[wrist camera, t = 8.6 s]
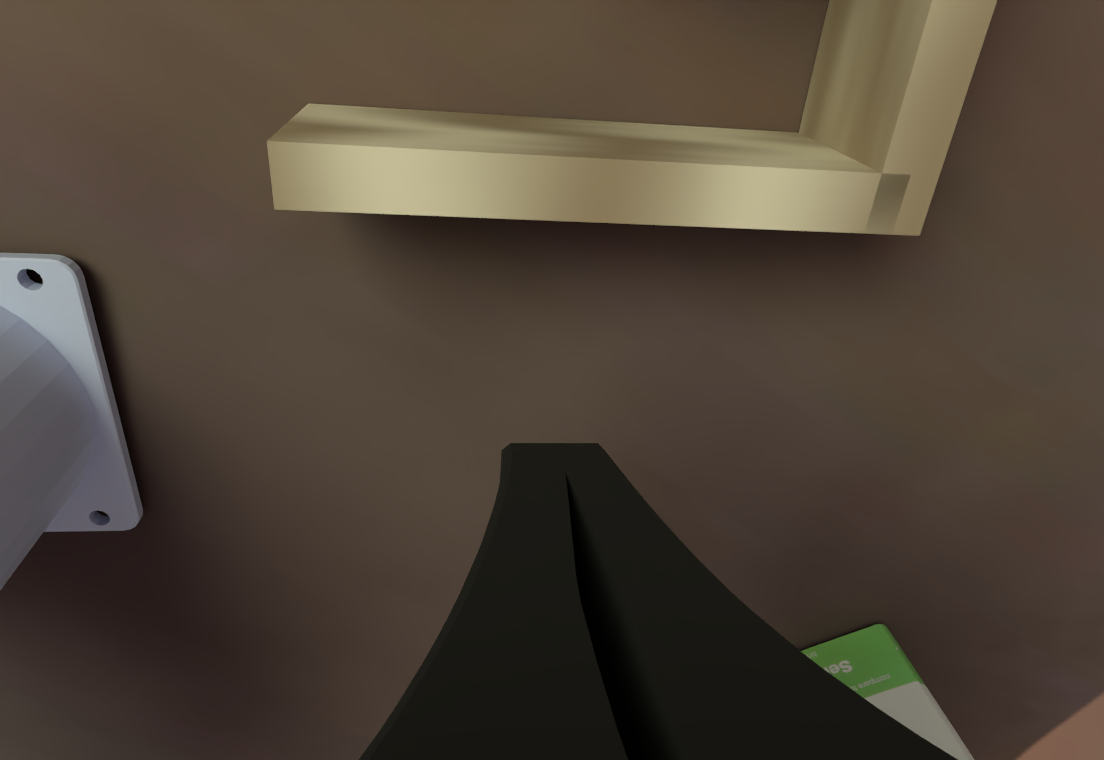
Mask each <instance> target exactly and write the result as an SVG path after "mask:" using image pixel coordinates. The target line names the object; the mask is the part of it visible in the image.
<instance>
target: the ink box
mask: <svg viewBox="0 0 1104 760" xmlns="http://www.w3.org/2000/svg"><path fill="white" fill-rule="evenodd" d="M801 652H802V653H803V654H805V655H806V656H807V657H809V658H810V659H811V660H813V661H814V662H815V663H816V664H818V665H819V666H820V667H822V668H823V669H824V670H826V671H827V672H828V673H830V674H831V675H833V676H834V677H835V678H837V679H838V680H840V681H841V682H842V683H844V684H845V685H846V686H848V687H849V688H851V689H852V690H853V691H855V692H856V693H858V694H859V695H860V696H862V697H863V698H865V699H866V700H867V701H869V702H870V703H871V704H873V705H874V706H876V707H877V708H879V709H880V710H882V711H883V712H885V713H886V714H888V715H889V716H891V717H892V718H894V719H895V720H897V721H898V722H900V723H901V724H903V725H904V726H906V727H907V728H909V729H910V730H912V731H913V732H915V733H916V734H918V735H919V736H921V737H922V738H924V739H926V740H927V741H929V742H930V743H932V744H934V745H935V746H937V747H938V748H940V749H942V750H943V751H945V752H946V753H948V754H950V755H951V756H953V757H955V758H956V759H958V760H974V758H973V757H972V755H971V754H970V752H969V751H968V749H967V748H966V746H965V745H964V743H963V741H962V740H961V738H960V737H959V735H958V734H957V732H956V731H955V729H954V728H953V726H952V725H951V723H950V722H949V720H948V719H947V717H946V716H945V714H944V713H943V711H942V710H941V708H940V707H939V705H938V704H937V702H936V701H935V699H934V698H933V696H932V695H931V693H930V692H929V690H928V688H927V687H926V685H925V684H924V682H923V681H922V679H921V678H920V676H919V675H918V673H917V672H916V670H915V669H914V667H913V666H912V664H911V663H910V661H909V660H908V658H907V656H906V655H905V653H904V652H903V650H902V649H901V647H900V646H899V644H898V643H897V641H896V640H895V638H894V637H893V635H892V634H891V632H890V631H889V629H888V628H887V626H885V625H884V624H875V625H873V626H870V627H867V628H865V629H862V630H859V631H856V632H853V633H850V634H847V635H844V636H841V637H839V638H836V639H833V640H831V641H828V642H825V643H822V644H818V645H816V646H813V647H810V648H808V649H805V650H802V651H801Z"/></svg>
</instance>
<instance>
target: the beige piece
mask: <svg viewBox="0 0 1104 760" xmlns="http://www.w3.org/2000/svg"><path fill="white" fill-rule="evenodd" d="M996 2H997V0H829V3H828V8H827V12H826V16H825V21H824V25H823V29H822V34H821V38H820V42H819V47H818V51H817V56H816V60H815V64H814V69H813V73H812V77H811V82H810V86H809V90H808V95H807V99H806V103H805V108H804V112H803V116H802V121H801V125H800V129H799V133H796V132H779V131H762V130H745V129H728V128H712V127H695V126H678V125H661V124H644V123H627V122H611V121H594V120H577V119H560V118H543V117H526V116H510V115H493V114H476V113H459V112H442V111H426V110H409V109H392V108H375V107H358V106H341V105H325V104H308V105H306V106H305V107H304V108H303V109H302V110H301V111H300V112H299V113H298V114H296V115H295V116H294V117H293V118H292V119H291V120H290V121H289V122H287V123H286V124H285V125H284V126H283V127H282V128H281V129H280V130H279V131H277V132H276V133H275V134H274V135H273V136H272V137H271V138H270V139H268V140H267V147H268V156H269V165H270V174H271V183H272V192H273V201H274V209H276V210H300V211H325V212H349V213H374V214H399V215H423V216H448V217H472V218H497V219H521V220H546V221H570V222H595V223H620V224H644V225H669V226H693V227H718V228H742V229H767V230H791V231H816V232H841V233H865V234H890V235H914V236H920V233H921V230H922V227H923V224H924V221H925V218H926V215H927V212H928V209H929V206H930V202H931V199H932V196H933V193H934V190H935V187H936V184H937V181H938V178H939V175H940V172H941V169H942V166H943V163H944V160H945V157H946V154H947V151H948V148H949V145H950V142H951V139H952V136H953V133H954V130H955V127H956V124H957V121H958V118H959V115H960V112H961V108H962V105H963V102H964V99H965V96H966V93H967V90H968V87H969V84H970V81H971V78H972V75H973V72H974V69H975V66H976V63H977V60H978V57H979V54H980V51H981V48H982V45H983V42H984V39H985V36H986V33H987V30H988V27H989V24H990V21H991V17H992V14H993V11H994V8H995V5H996Z"/></svg>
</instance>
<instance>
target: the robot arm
mask: <svg viewBox="0 0 1104 760" xmlns="http://www.w3.org/2000/svg"><path fill="white" fill-rule="evenodd" d="M26 269H31V270H34V271H35V272H37V273H38V274H40V276H41V278H42V279H43V284H39V283H35V282H34V281H32V280H31V279H30V278H29V277H28V275H27V273H26ZM97 511H103V512H105V513H106V514H108V516H103V515H101V514H99V513H98V512H97ZM142 515H143V508H142V504H141V500H140V496H139V492H138V488H137V484H136V480H135V476H134V472H133V468H132V464H131V460H130V456H129V452H128V448H127V444H126V440H125V436H124V433H123V429H122V425H121V421H120V417H119V413H118V409H117V405H116V401H115V397H114V393H113V389H112V385H111V381H110V377H109V373H108V369H107V365H106V361H105V357H104V353H103V349H102V345H101V341H100V337H99V333H98V329H97V325H96V321H95V317H94V313H93V309H92V306H91V302H90V298H89V294H88V290H87V286H86V282H85V278H84V275H83V272H82V270H81V268H80V267H79V266H78V265H77V264H76V263H75V262H74V261H73V260H71V259H69V258H67V257H65V256H61V255H56V254H28V253H0V590H1V589H2V588H3V586H4V585H5V583H6V582H7V581H8V579H9V578H10V577H11V575H12V574H13V573H14V571H15V570H16V569H17V567H18V566H19V564H20V563H21V562H22V560H23V559H24V558H25V556H26V555H27V554H28V552H29V551H30V550H31V548H32V547H33V546H34V544H35V543H36V541H37V540H38V539H39V537H40V536H41V535H42V533H43V532H67V531H125V530H130V529H132V528H134V527H136V525H137V524H138V522H139V521H140V519H141V517H142ZM359 760H958V759H956V758H955V757H953V756H951V755H950V754H948V753H946V752H945V751H943V750H942V749H940V748H938V747H937V746H935V745H934V744H932V743H930V742H929V741H927V740H926V739H924V738H922V737H921V736H919V735H918V734H916V733H915V732H913V731H912V730H910V729H909V728H907V727H906V726H904V725H903V724H901V723H900V722H898V721H897V720H895V719H894V718H892V717H891V716H889V715H888V714H886V713H885V712H883V711H882V710H880V709H879V708H877V707H876V706H874V705H873V704H871V703H870V702H869V701H867V700H866V699H865V698H863V697H862V696H860V695H859V694H858V693H856V692H855V691H853V690H852V689H851V688H849V687H848V686H846V685H845V684H844V683H842V682H841V681H840V680H838V679H837V678H835V677H834V676H833V675H831V674H830V673H828V672H827V671H826V670H824V669H823V668H822V667H820V666H819V665H818V664H816V663H815V662H814V661H813V660H811V659H810V658H809V657H807V656H806V655H805V654H803V653H802V652H801V651H800V650H798V649H797V648H796V647H795V646H793V645H792V644H791V643H790V642H788V641H787V640H786V639H785V638H784V637H783V636H781V635H780V634H779V633H778V632H777V631H775V630H774V629H773V628H772V627H771V626H769V625H768V624H767V623H766V622H765V621H763V620H762V619H761V618H760V617H759V616H757V615H756V614H755V613H754V612H753V611H751V610H750V609H749V608H748V607H747V606H746V605H745V604H744V603H743V602H741V601H740V600H739V599H738V598H737V597H736V596H735V595H734V594H733V593H732V592H730V591H729V590H728V589H727V588H726V587H725V586H724V585H723V584H722V583H721V582H720V581H719V580H718V579H717V578H716V577H715V576H714V575H713V574H712V573H711V572H710V571H709V570H708V569H707V568H706V567H705V566H704V565H703V564H702V563H701V562H700V561H699V560H698V559H697V558H696V557H695V556H694V555H693V554H692V553H691V551H690V550H689V549H688V548H687V547H686V546H685V545H684V544H683V543H682V542H681V541H680V540H679V538H678V537H677V536H676V535H675V534H674V533H673V532H672V531H671V530H670V529H669V527H668V526H667V525H666V524H665V523H664V522H663V521H662V520H661V519H660V517H659V516H658V515H657V514H656V513H655V512H654V511H653V509H652V508H651V507H650V506H649V505H648V504H647V502H646V501H645V500H644V499H643V498H642V496H641V495H640V494H639V493H638V491H637V490H636V489H635V488H634V487H633V485H632V484H631V483H630V482H629V481H628V479H627V478H626V477H625V476H624V474H623V473H622V472H621V471H620V469H619V468H618V467H617V466H616V464H615V463H614V462H613V460H612V459H611V458H610V457H609V455H608V454H607V453H606V452H605V450H604V449H603V448H602V447H601V446H600V445H599V444H598V443H510V444H509V445H508V446H507V447H505V448H504V449H503V450H502V454H501V474H500V485H499V489H498V493H497V497H496V501H495V505H494V508H493V511H492V514H491V517H490V520H489V523H488V526H487V529H486V532H485V535H484V538H483V541H482V543H481V546H480V548H479V551H478V553H477V556H476V558H475V560H474V562H473V565H472V567H471V569H470V572H469V574H468V576H467V578H466V581H465V583H464V585H463V588H462V590H461V592H460V594H459V596H458V598H457V601H456V603H455V605H454V607H453V609H452V611H451V613H450V615H449V617H448V618H447V620H446V622H445V624H444V626H443V628H442V630H441V632H440V633H439V635H438V637H437V639H436V641H435V643H434V644H433V646H432V648H431V650H430V652H429V653H428V655H427V657H426V659H425V660H424V662H423V664H422V665H421V667H420V668H419V670H418V672H417V673H416V675H415V677H414V678H413V680H412V681H411V683H410V685H409V686H408V688H407V690H406V691H405V693H404V694H403V696H402V698H401V699H400V701H399V703H398V704H397V706H396V707H395V709H394V710H393V712H392V713H391V715H390V716H389V718H388V719H387V721H386V722H385V724H384V725H383V727H382V728H381V730H380V731H379V733H378V734H377V736H376V737H375V738H374V740H373V741H372V742H371V744H370V745H369V746H368V748H367V749H366V751H365V752H364V753H363V755H362V756H361V757H360V759H359Z"/></svg>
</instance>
